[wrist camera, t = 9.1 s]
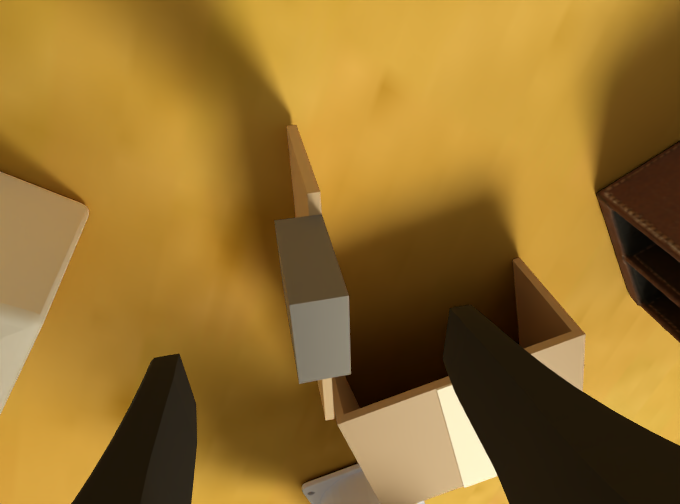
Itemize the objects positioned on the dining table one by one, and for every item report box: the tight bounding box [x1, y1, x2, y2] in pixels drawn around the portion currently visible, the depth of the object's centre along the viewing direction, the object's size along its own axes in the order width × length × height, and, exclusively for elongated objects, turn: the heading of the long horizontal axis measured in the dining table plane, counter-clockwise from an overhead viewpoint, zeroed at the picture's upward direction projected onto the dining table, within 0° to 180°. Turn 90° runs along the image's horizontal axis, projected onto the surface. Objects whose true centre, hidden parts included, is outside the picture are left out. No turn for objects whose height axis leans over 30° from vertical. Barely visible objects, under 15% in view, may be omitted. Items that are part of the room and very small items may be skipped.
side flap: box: [274, 125, 351, 420], centre depth 19 cm, size 2×12×10 cm, turn 2°
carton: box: [332, 258, 585, 504], centre depth 27 cm, size 10×12×6 cm
